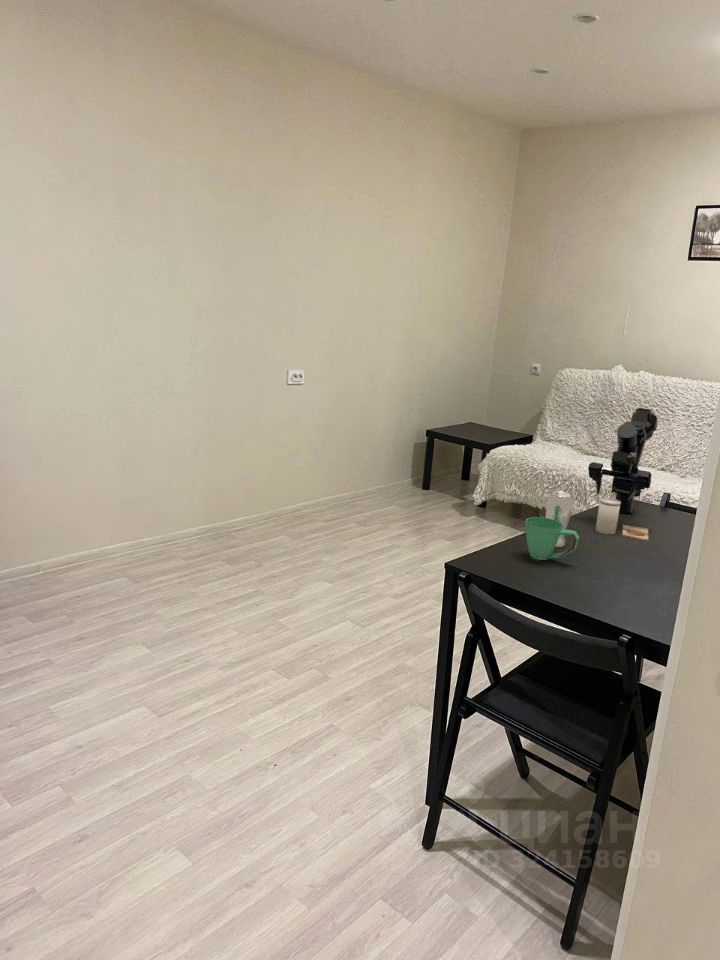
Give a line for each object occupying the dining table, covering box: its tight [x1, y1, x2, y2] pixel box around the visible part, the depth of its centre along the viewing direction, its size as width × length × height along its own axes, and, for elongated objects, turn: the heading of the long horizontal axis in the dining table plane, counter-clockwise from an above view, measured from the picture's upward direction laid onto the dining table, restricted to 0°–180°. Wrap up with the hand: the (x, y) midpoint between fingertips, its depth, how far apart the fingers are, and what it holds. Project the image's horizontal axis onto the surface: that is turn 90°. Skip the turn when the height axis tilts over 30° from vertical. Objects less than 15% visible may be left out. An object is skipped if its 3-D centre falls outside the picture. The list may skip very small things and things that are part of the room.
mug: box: [524, 516, 580, 561], centre depth 196 cm, size 15×10×10 cm
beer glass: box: [545, 490, 574, 548], centre depth 209 cm, size 7×7×15 cm
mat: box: [621, 524, 649, 542], centre depth 226 cm, size 12×8×1 cm, turn 160°
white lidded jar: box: [594, 497, 621, 536], centre depth 225 cm, size 6×6×10 cm
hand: (612, 496), depth 226 cm, fingers open, 9 cm apart
